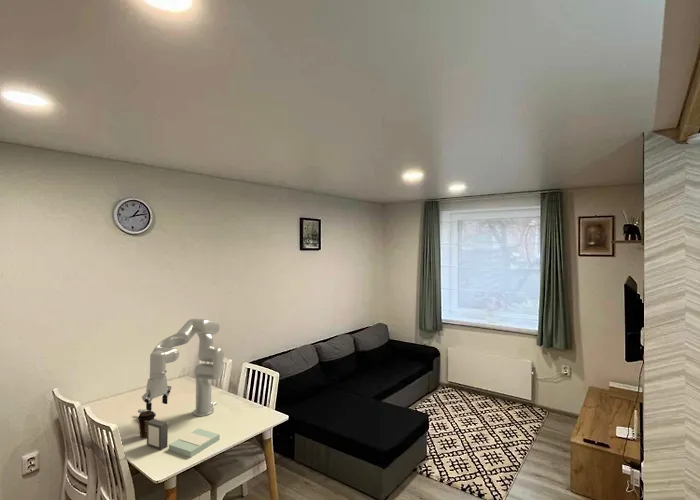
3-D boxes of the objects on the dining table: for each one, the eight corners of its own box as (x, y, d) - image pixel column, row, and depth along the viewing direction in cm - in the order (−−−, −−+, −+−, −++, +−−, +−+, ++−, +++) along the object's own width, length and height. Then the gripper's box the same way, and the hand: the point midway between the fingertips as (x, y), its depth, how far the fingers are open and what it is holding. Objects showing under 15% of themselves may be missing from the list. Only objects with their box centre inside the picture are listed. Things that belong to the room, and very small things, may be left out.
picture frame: (153, 442, 209) (153, 418, 209) (167, 446, 205) (167, 422, 204) (146, 445, 205) (146, 421, 205) (160, 450, 201) (160, 426, 201)
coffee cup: (151, 430, 222) (151, 408, 222) (157, 435, 217) (158, 412, 217) (135, 436, 215) (135, 413, 215) (141, 441, 210) (141, 417, 210)
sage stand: (198, 433, 219) (198, 427, 219) (219, 439, 213) (219, 433, 213) (168, 450, 201) (168, 443, 201) (190, 457, 194) (190, 451, 194)
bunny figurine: (140, 418, 229) (136, 407, 241) (140, 426, 230) (136, 414, 241) (157, 414, 235) (152, 403, 247) (157, 422, 235) (152, 410, 247)
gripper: (166, 369, 214) (165, 400, 214) (138, 378, 198) (137, 411, 198) (176, 371, 211) (175, 402, 211) (147, 380, 195) (147, 414, 195)
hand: (157, 406), depth 205 cm, fingers open, 9 cm apart
